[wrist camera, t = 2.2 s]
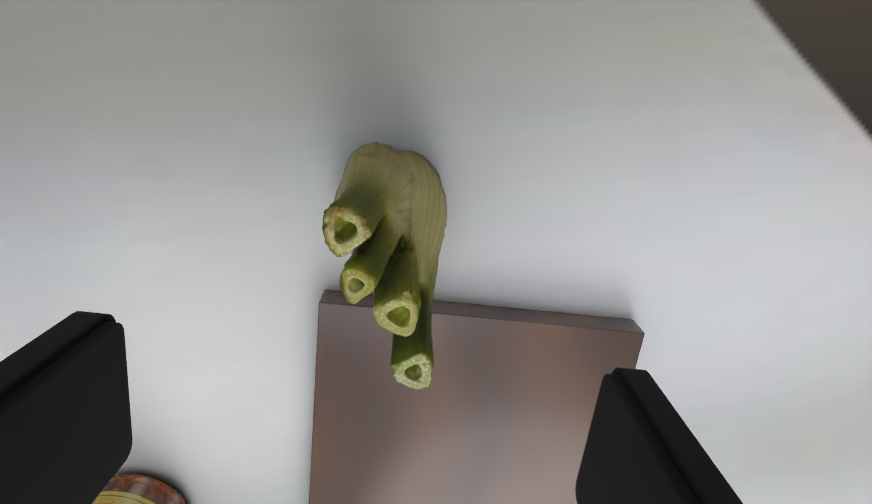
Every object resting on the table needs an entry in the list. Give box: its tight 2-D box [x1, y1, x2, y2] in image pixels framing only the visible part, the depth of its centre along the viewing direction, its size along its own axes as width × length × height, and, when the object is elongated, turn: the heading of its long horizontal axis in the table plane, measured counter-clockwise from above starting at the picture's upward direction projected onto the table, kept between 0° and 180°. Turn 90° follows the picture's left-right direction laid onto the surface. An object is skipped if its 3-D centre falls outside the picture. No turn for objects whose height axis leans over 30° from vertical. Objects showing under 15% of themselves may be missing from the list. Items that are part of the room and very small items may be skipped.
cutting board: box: [309, 290, 644, 504], centre depth 29 cm, size 16×20×2 cm
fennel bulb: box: [322, 143, 447, 390], centre depth 19 cm, size 6×5×12 cm
